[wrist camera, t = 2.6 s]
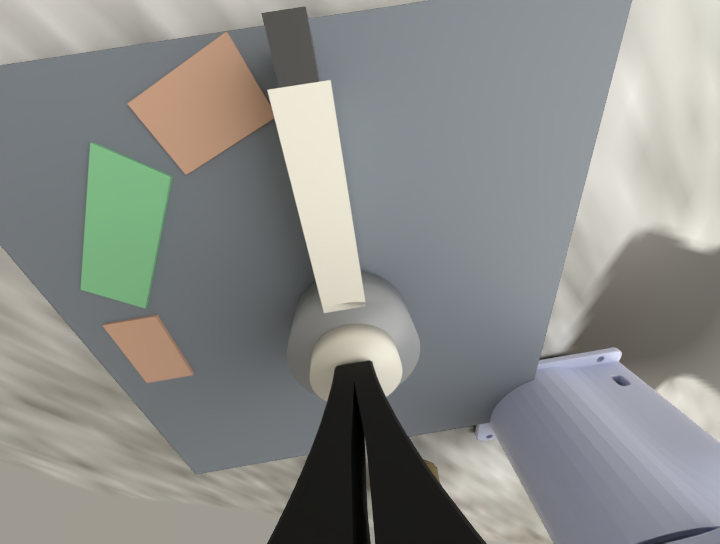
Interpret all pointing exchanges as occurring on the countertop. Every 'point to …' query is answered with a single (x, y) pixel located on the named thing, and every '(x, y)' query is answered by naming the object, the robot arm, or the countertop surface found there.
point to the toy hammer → (329, 230)
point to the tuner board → (280, 214)
